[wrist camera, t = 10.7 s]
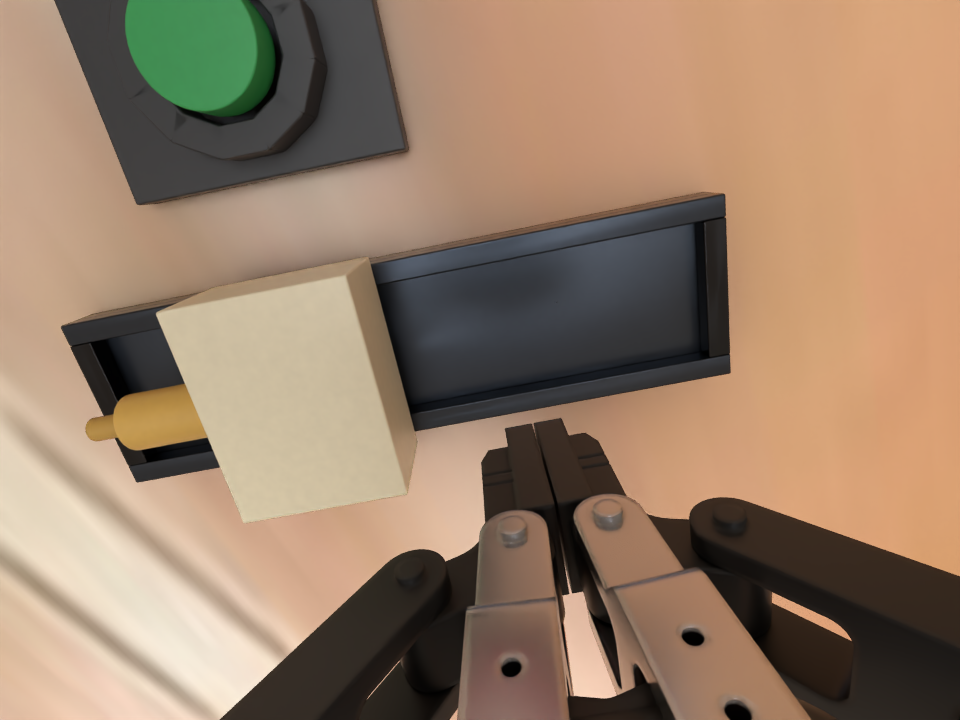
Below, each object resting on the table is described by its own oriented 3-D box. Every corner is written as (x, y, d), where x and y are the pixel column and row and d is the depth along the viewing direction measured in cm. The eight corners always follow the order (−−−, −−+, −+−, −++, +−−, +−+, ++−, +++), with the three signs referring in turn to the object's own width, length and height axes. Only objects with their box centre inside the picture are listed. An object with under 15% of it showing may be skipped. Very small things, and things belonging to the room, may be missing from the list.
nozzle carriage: (181, 474, 27) (109, 548, 22) (105, 305, 24) (-1, 343, 18) (420, 430, 26) (408, 495, 21) (373, 251, 23) (345, 274, 18)
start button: (183, 127, 20) (155, 123, 18) (135, -4, 19) (101, -22, 17) (291, 104, 20) (274, 97, 18) (253, -31, 18) (230, -52, 17)
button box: (154, 204, 24) (108, 207, 21) (64, -27, 21) (-5, -62, 18) (409, 150, 23) (400, 147, 20) (355, -94, 20) (335, -142, 17)
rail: (160, 460, 28) (136, 483, 26) (92, 313, 25) (59, 326, 23) (710, 358, 27) (731, 373, 25) (703, 191, 24) (726, 193, 22)
